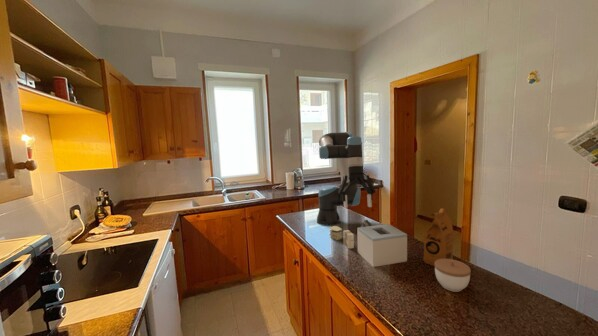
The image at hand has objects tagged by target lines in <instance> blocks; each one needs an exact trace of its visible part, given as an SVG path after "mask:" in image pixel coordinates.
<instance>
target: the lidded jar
mask: <svg viewBox="0 0 598 336" xmlns="http://www.w3.org/2000/svg"><path fill="white" fill-rule="evenodd" d="M434 265H435V266H434V274H435V278H436V280H437V282H438V283H439V284H440V285H441V286H442V288H443V289H445V290H446V291H450V292H454V293H458V292H461V291H462V290H465V289H466V288H467V287H468V285H469V282H470V280H471V272H472V270H471V268H470V266H469V265H467V264H466V263H464V262H462V261H459V260H456V259H454V258H453V259H438V260H436V261H435V264H434Z"/></svg>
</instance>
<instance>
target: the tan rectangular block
mask: <svg viewBox="0 0 598 336" xmlns="http://www.w3.org/2000/svg"><path fill="white" fill-rule="evenodd" d="M342 233H343V234H342V239H343V245H344V246H345V247H346V248H347V249H354V247H355V246H354V245H355V243H354V241H355V240H354V239H355V238H354V237H355V236H354V235H355V234H354V233H352V232H351V231H350V230H349V229H346V230H343V231H342Z"/></svg>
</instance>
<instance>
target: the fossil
mask: <svg viewBox="0 0 598 336" xmlns="http://www.w3.org/2000/svg"><path fill="white" fill-rule="evenodd" d="M367 226H373V225H372V223H371V222H370V221H369V220H368V219H364V220H363V221H362V223H361V225H360V227H367Z"/></svg>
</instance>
